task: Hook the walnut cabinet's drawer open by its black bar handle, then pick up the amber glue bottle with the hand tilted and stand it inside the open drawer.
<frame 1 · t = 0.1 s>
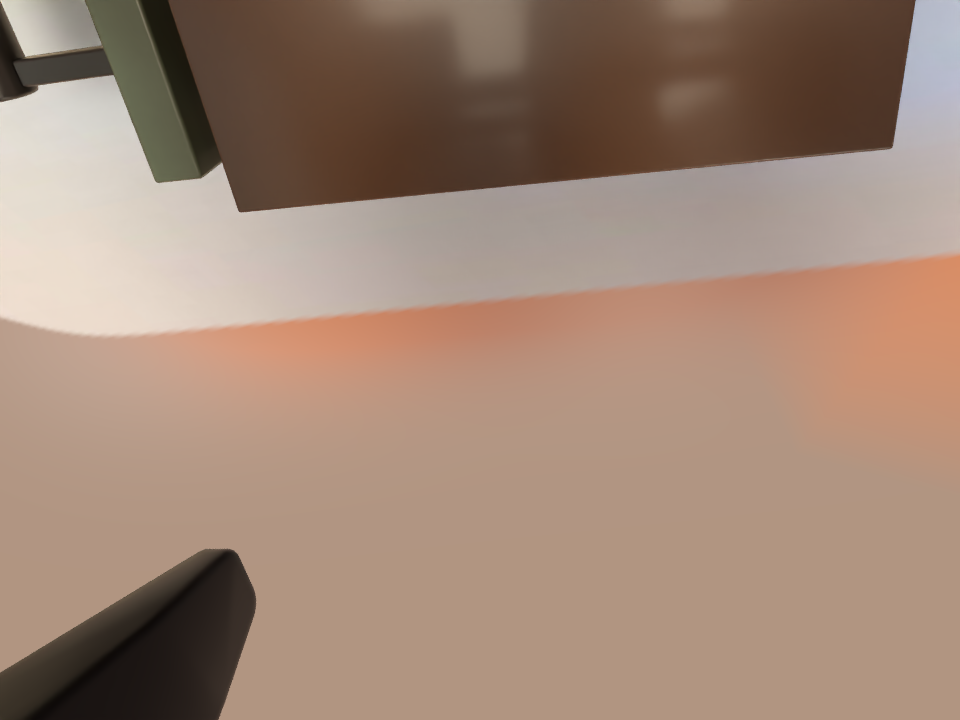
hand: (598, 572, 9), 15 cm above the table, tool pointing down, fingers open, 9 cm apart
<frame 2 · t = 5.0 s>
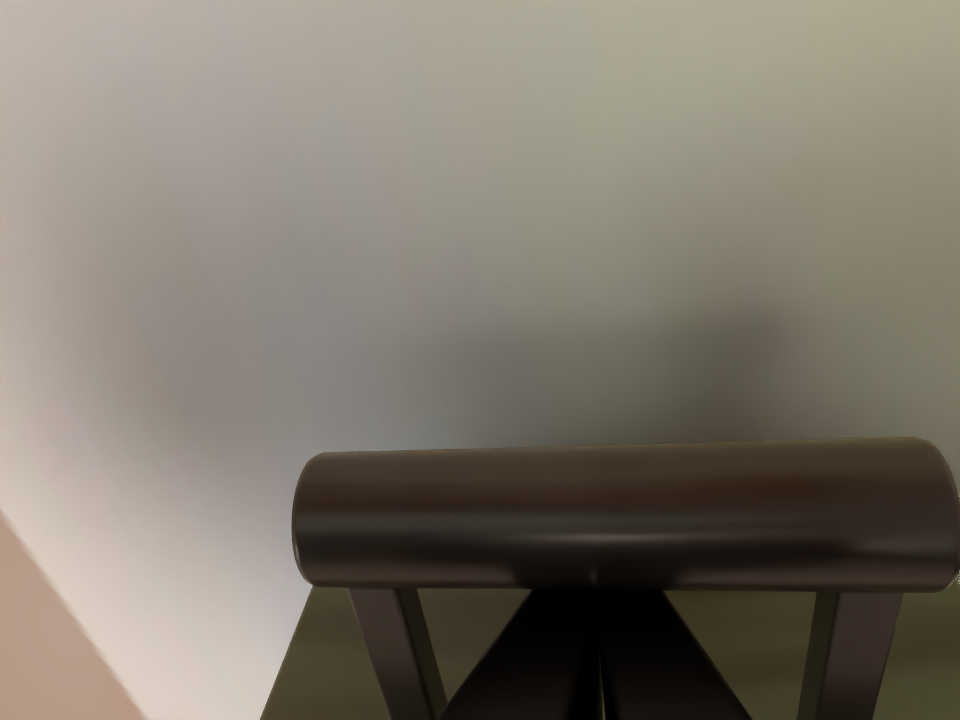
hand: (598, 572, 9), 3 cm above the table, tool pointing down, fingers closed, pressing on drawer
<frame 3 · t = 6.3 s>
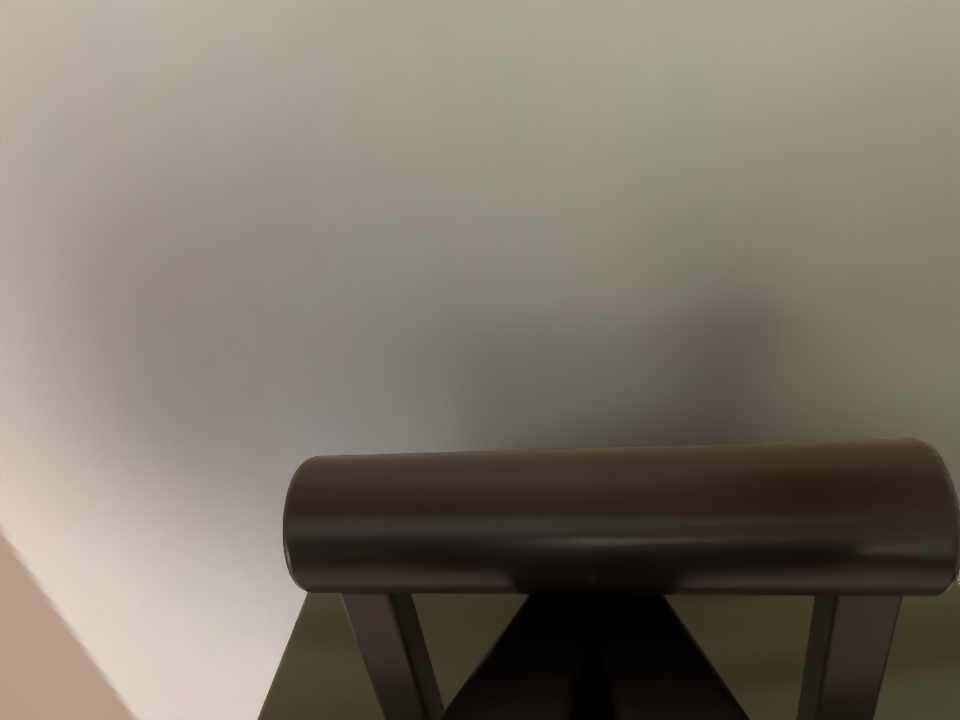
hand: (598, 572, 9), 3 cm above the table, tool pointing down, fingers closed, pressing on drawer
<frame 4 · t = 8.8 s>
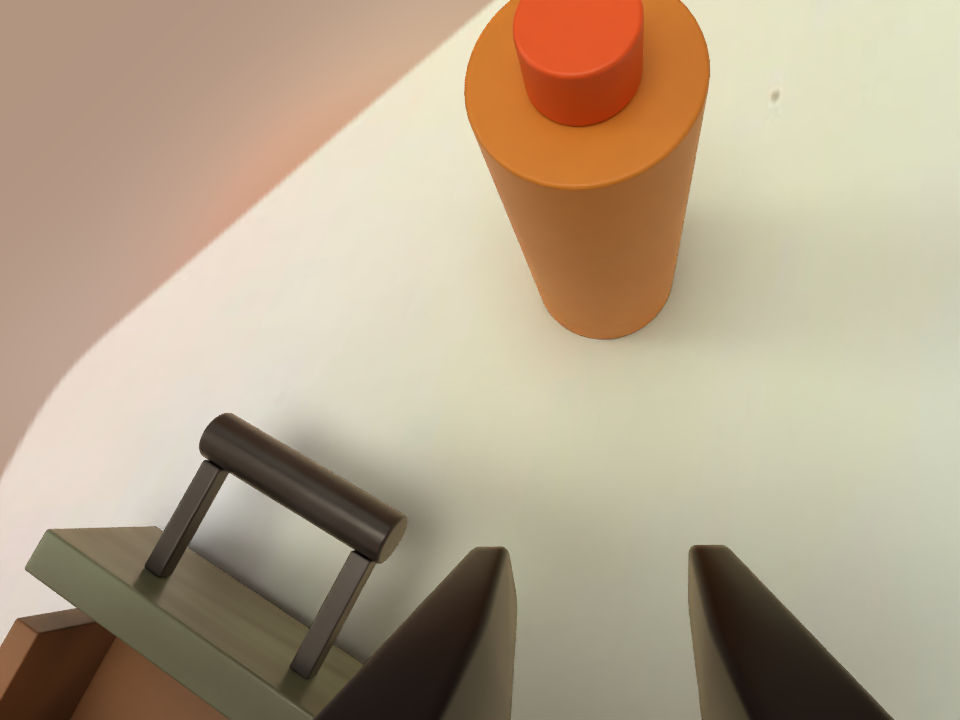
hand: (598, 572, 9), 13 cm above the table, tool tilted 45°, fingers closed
glue bottle: (604, 274, 23), on the table
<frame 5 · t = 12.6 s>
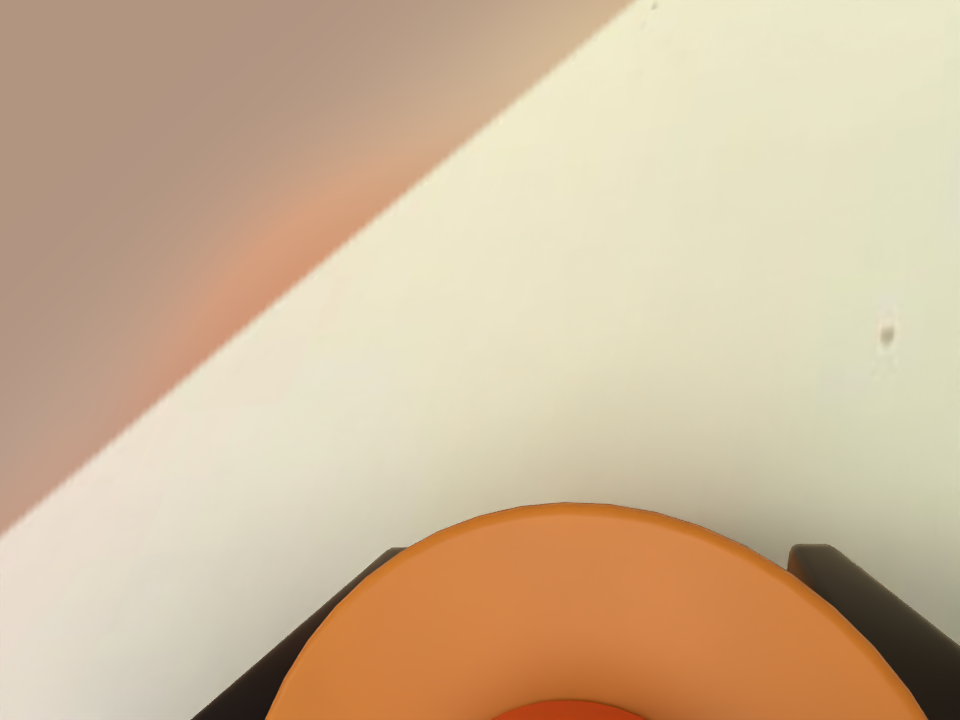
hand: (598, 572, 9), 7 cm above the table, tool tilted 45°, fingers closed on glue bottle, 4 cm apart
glue bottle: (617, 621, 15), on the table, touching gripper
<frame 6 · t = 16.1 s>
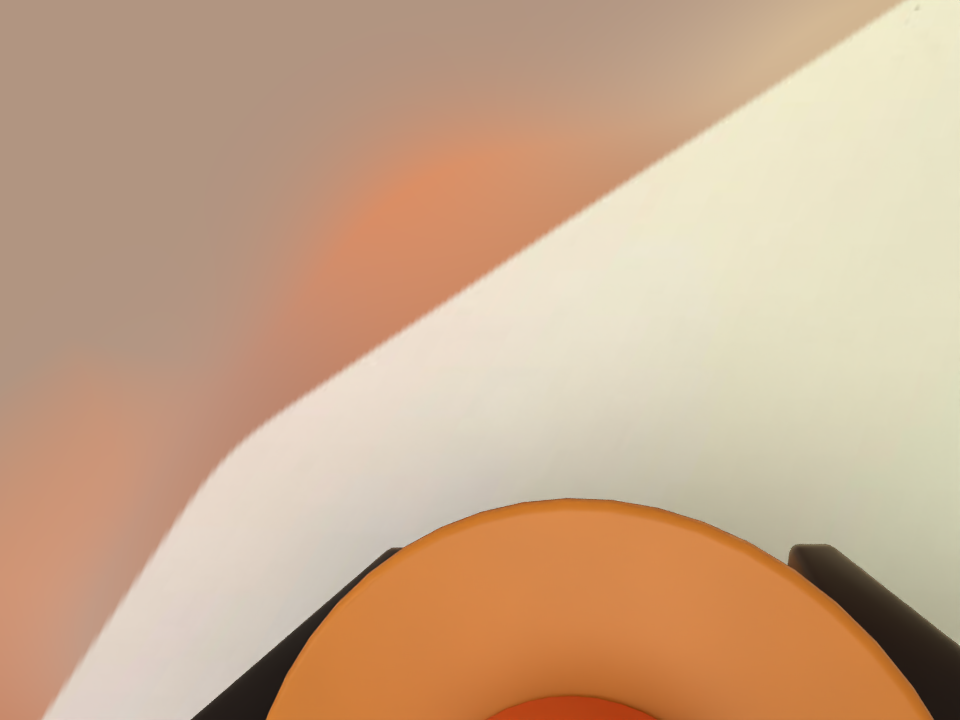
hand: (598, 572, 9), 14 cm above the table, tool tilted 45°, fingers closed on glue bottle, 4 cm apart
glue bottle: (617, 620, 15), point 7 cm above the table, touching gripper
when the fingers open (8 cm above the table, at t = 19.9 s): glue bottle stays where it is, resting on drawer.
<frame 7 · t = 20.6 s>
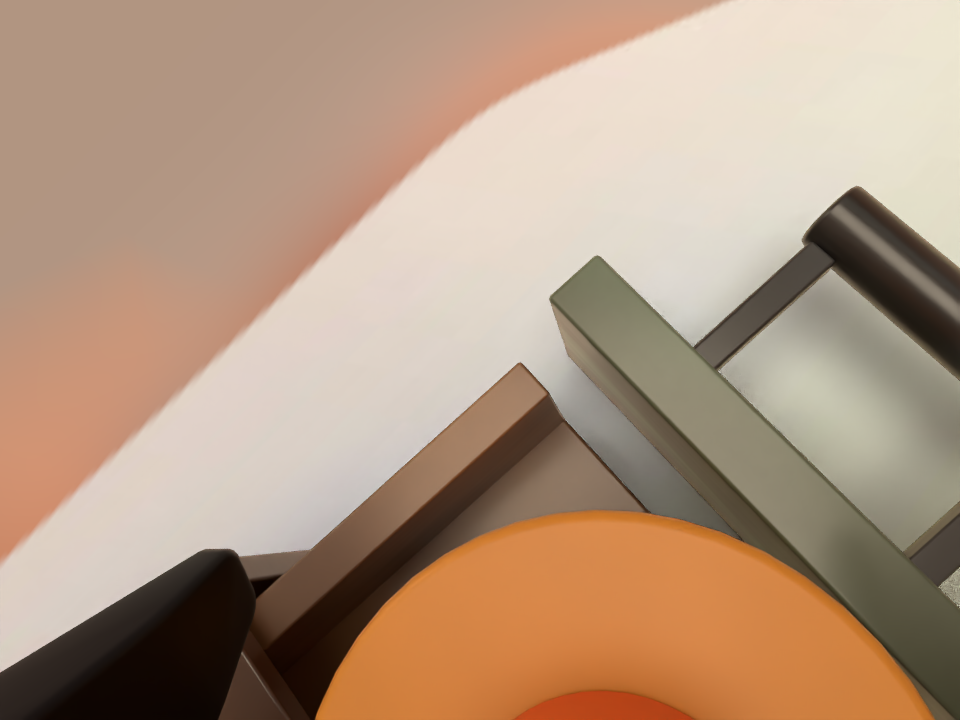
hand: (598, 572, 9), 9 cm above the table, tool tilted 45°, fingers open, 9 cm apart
drawer: (633, 609, 14), point 3 cm above the table, slide at 7.6 cm, touching glue bottle
glue bottle: (619, 621, 15), point 2 cm above the table, touching drawer
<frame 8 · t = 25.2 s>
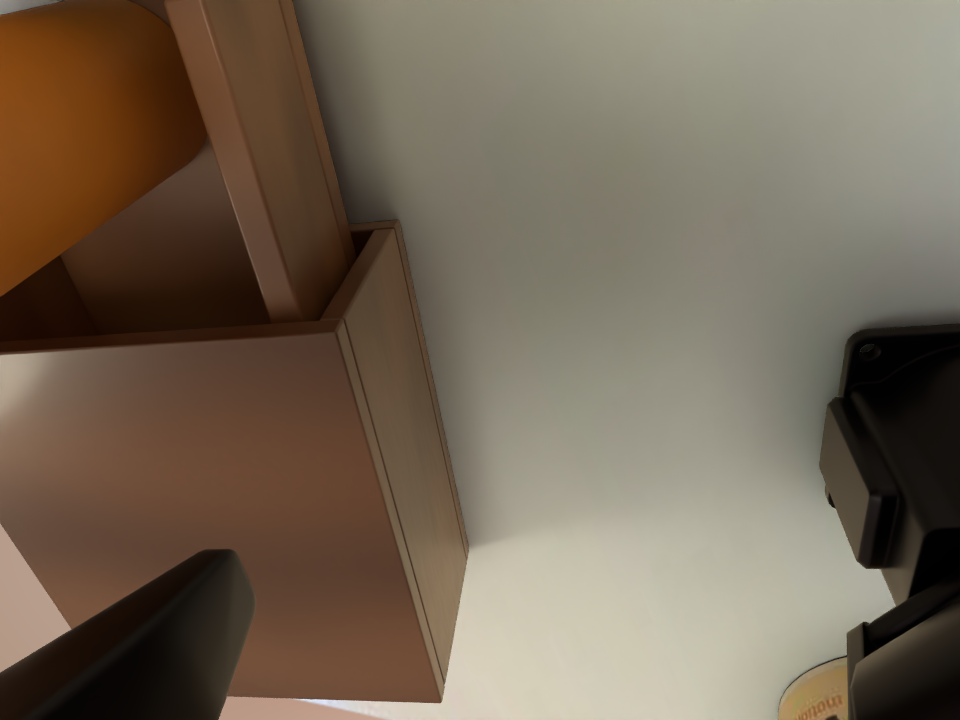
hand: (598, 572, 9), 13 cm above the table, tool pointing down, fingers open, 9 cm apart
drawer: (83, 84, 16), point 3 cm above the table, slide at 7.6 cm, touching glue bottle
coffee cup: (875, 706, 30), on the table
glue bottle: (125, 91, 18), point 2 cm above the table, touching drawer
cabinet: (279, 415, 25), on the table
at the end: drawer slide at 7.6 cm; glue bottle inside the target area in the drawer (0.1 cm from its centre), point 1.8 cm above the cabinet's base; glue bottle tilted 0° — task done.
